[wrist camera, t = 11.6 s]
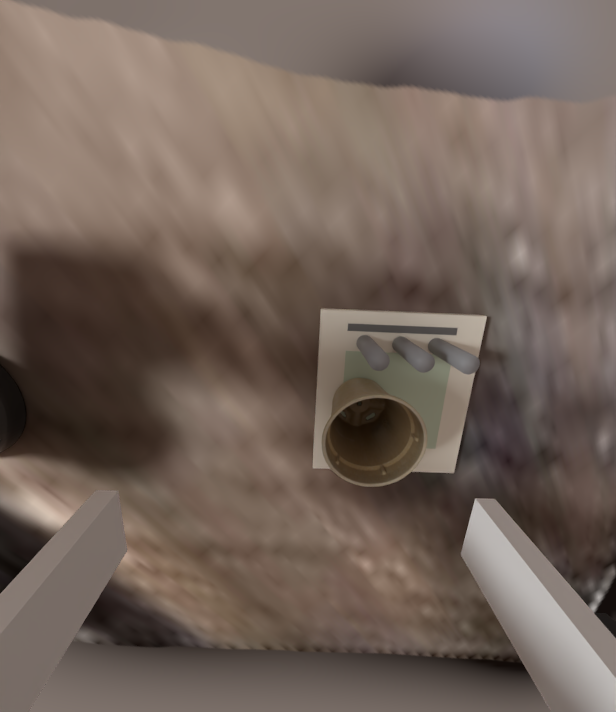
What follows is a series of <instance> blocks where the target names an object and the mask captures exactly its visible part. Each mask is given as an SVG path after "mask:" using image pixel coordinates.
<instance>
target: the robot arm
mask: <svg viewBox="0 0 616 712" xmlns="http://www.w3.org/2000/svg"><path fill="white" fill-rule="evenodd" d="M25 419H26V412H25V405H24V401H23V398H22V395H21V393H20V391H19V389H18V387H17V385H16V384H15V382H14V381H13V379H12V378H11V377H10V376H9V374H8V373H7V372H6V371H5V370H4V369H3V368H2V367H1V366H0V452H2V451H4V450H6V449H7V448H9V447H10V446H12V445H13V444H14V443H15V442H16V441H17V440H18V438H19V437H20V435H21V434H22V432H23V429H24V425H25ZM126 552H127V546H126V539H125V532H124V526H123V519H122V512H121V506H120V499H119V493H118V491H111V490H96V491H95V492H94V493H93V494H92V495H91V496H90V497H89V498H88V499H87V501H86V502H85V503H84V504H83V505H82V506H81V507H80V508H79V509H78V510H77V511H76V512H75V514H74V515H73V516H72V517H71V518H70V519H69V520H68V521H67V522H66V523H65V524H64V525H63V527H62V528H61V529H60V530H59V531H58V532H57V533H56V534H55V535H54V536H53V537H52V538H51V540H50V541H49V542H48V543H47V544H46V545H45V546H44V547H43V548H42V549H41V550H40V552H39V553H38V554H37V555H36V556H35V557H34V558H33V559H32V560H31V561H30V562H29V563H28V565H27V566H26V567H25V568H24V569H23V570H22V571H21V572H20V573H19V574H18V575H17V576H16V578H15V579H14V580H13V581H12V582H11V583H10V584H9V585H8V586H7V587H6V588H5V589H4V591H3V592H2V593H1V594H0V712H29V710H30V709H31V707H32V705H33V704H34V702H35V700H36V699H37V697H38V696H39V694H40V692H41V691H42V689H43V687H44V686H45V684H46V682H47V681H48V679H49V678H50V676H51V674H52V673H53V671H54V669H55V668H56V666H57V665H58V663H59V661H60V660H61V658H62V656H63V655H64V653H65V651H66V650H67V648H68V647H69V645H70V643H71V642H72V640H73V638H74V637H75V635H76V633H77V632H78V630H79V629H80V627H81V625H82V624H83V622H84V620H85V619H86V617H87V615H88V614H89V612H90V611H91V609H92V607H93V606H94V604H95V602H96V601H97V599H98V597H99V596H100V594H101V593H102V591H103V589H104V588H105V586H106V584H107V583H108V581H109V579H110V578H111V576H112V575H113V573H114V571H115V570H116V568H117V566H118V565H119V563H120V561H121V560H122V558H123V557H124V555H125V553H126ZM461 556H462V558H463V560H464V561H465V563H466V565H467V566H468V568H469V570H470V572H471V573H472V575H473V577H474V579H475V580H476V582H477V584H478V586H479V587H480V589H481V591H482V593H483V594H484V596H485V598H486V600H487V601H488V603H489V605H490V607H491V608H492V610H493V612H494V613H495V615H496V617H497V619H498V620H499V622H500V624H501V626H502V627H503V629H504V631H505V633H506V634H507V636H508V638H509V640H510V641H511V643H512V645H513V647H514V648H515V650H516V652H517V654H518V655H519V657H520V659H521V660H522V662H523V664H524V666H525V667H526V669H527V671H528V672H529V674H530V676H531V678H532V680H533V681H534V683H535V684H536V687H537V688H538V690H539V692H540V693H541V695H542V697H543V699H544V701H545V702H546V704H547V706H548V707H549V709H550V711H551V712H616V621H615V620H613V619H612V618H611V617H610V616H608V615H607V614H606V613H593V612H592V610H591V609H590V608H589V607H588V606H587V605H586V603H585V602H584V601H583V600H582V599H581V598H580V597H579V595H578V594H577V593H576V592H575V591H574V590H573V588H572V587H571V586H570V585H569V584H568V583H567V582H566V580H565V579H564V578H563V577H562V576H561V575H560V573H559V572H558V571H557V570H556V569H555V568H554V567H553V565H552V564H551V563H550V562H549V561H548V560H547V558H546V557H545V556H544V555H543V554H542V553H541V551H540V550H539V549H538V548H537V547H536V546H535V545H534V543H533V542H532V541H531V540H530V539H529V538H528V536H527V535H526V534H525V533H524V532H523V531H522V530H521V528H520V527H519V526H518V525H517V524H516V523H515V521H514V520H513V519H512V518H511V517H510V516H509V515H508V513H507V512H506V511H505V510H504V509H503V508H502V506H501V505H500V504H499V503H498V502H497V501H496V500H495V499H482V498H475V501H474V505H473V509H472V513H471V517H470V520H469V524H468V528H467V532H466V536H465V539H464V543H463V547H462V551H461Z"/></svg>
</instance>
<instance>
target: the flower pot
mask: <svg viewBox="0 0 616 712" xmlns="http://www.w3.org/2000/svg"><path fill="white" fill-rule="evenodd" d="M358 402H361V405H358ZM341 411H343V412H345V415H346V417H344V416H343V415H342V414H341V413H340V412H341ZM372 413H375V416H374V417H372V418H370V419H368V420H367V419H366V417H368V416H369V415H371V414H372ZM427 441H428V436H427V429H426V425H425V423H424V421H423V419H422V417H421V416H420V414H419V413H418V412H417V410H416V409H415V408H414V407H413V406H411V405H410V404H409V403H407V402H406V401H404V400H402V399H400V398H398V397H395V396H392V395H390V394H388V393H387V392H386V391H385V390H384V389H383V388H382V387H381V386H380V385H379V384H378V383H376V382H375V381H373V380H371V379H366V378H353V379H350V380H348V381H346V382H344V383H343V384H342V385H341V386H340V387H339V388H338V389H337V390H336V392H335V394H334V397H333V401H332V412H331V417H330V418H329V420H328V422H327V423H326V425H325V428H324V430H323V434H322V452H323V456H324V459H325V461H326V463H327V464H328V466H329V468H330V469H331V470H332V471H333V472H334V473H335V474H336V475H338V476H339V477H340V478H342V479H343V480H345V481H347V482H349V483H352V484H355V485H359V486H364V487H378V486H385V485H389V484H391V483H394V482H397V481H399V480H401V479H403V478H404V477H405V476H407V475H408V474H409V473H411V472H412V471H413V470H414V469H415V468H416V467H417V465H418V464H419V462H420V461H421V460H422V458H423V456H424V454H425V451H426V447H427Z"/></svg>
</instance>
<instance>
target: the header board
mask: <svg viewBox="0 0 616 712" xmlns="http://www.w3.org/2000/svg"><path fill="white" fill-rule="evenodd" d="M486 319H487V316H484V315H474V314H450V313H426V312H402V311H378V310H354V309H330V308H321V313H320V332H319V351H318V370H317V388H316V407H315V426H314V445H313V468H320V469H330V468H329V466H328V464H327V463H326V461H325V459H324V456H323V452H322V434H323V430H324V428H325V425H326V423H327V422H328V420H329V418H330V417H331V412H332V401H333V397H334V394H335V392H336V390H337V389H338V388H339V387H340V386H341V385H342V384H343V383H344V382H346V381H348V380H350V379H353V378H366V379H371V380H373V381H375V382H376V383H378V384H379V385H380V386H381V387H382V388H383V389H384V390H385V391H386V392H387V393H388V394H390V395H392V396H395V397H398V398H400V399H402V400H404V401H406V402H407V403H409V404H410V405H411V406H413V407H414V408H415V409H416V410H417V412H418V413H419V414H420V416H421V417H422V419H423V421H424V423H425V425H426V429H427V436H428V441H427V447H426V451H425V454H424V456H423V458H422V460H421V461H420V462H419V464H418V465H417V467H416V468H415V469H414V470H413V471H412V472H435V473H454V471H455V466H456V461H457V456H458V452H459V447H460V442H461V437H462V433H463V428H464V423H465V418H466V414H467V409H468V404H469V399H470V395H471V390H472V385H473V380H474V376H475V372H476V371H477V370H478V368H479V366H480V361H479V359H478V357H479V352H480V347H481V342H482V338H483V333H484V328H485V323H486ZM358 405H361V402H358ZM340 413H341V414H342V415H343V416H344V417H346V415H345V412H343V411H341V412H340ZM374 416H375V413H372V414H371V415H369V416H368V417H366V419H367V420H368V419H370V418H372V417H374Z"/></svg>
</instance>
